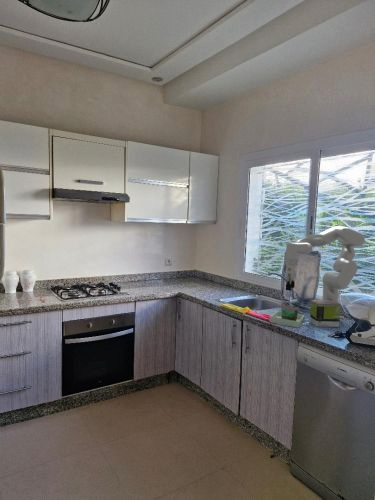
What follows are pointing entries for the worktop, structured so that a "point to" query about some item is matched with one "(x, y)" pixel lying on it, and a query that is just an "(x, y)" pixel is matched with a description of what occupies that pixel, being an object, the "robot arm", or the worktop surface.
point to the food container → (289, 312)
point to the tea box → (325, 313)
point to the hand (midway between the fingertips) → (290, 289)
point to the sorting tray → (278, 320)
